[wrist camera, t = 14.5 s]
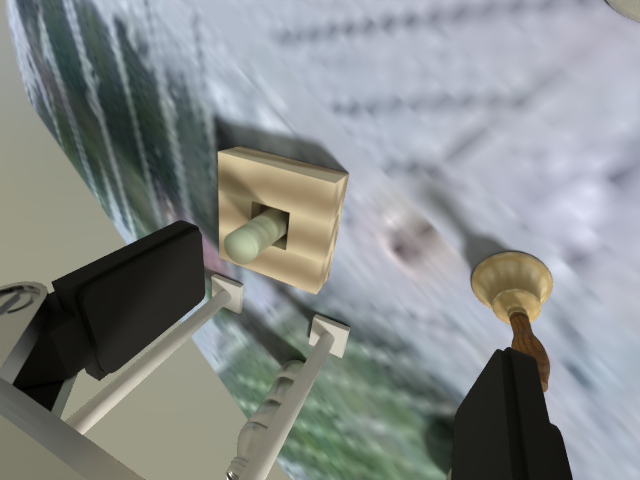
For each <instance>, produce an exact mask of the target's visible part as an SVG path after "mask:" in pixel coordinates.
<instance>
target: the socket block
mask: <svg viewBox="0 0 640 480" xmlns="http://www.w3.org/2000/svg"><path fill="white" fill-rule="evenodd" d="M348 176H349V173H345V172H341V171H337V170H333V169H330V168H326V167H322V166H318V165H314V164H310V163H306V162H302V161H298V160H295V159H291V158H287V157H283V156H279V155H275V154H271V153H267V152H263V151H260V150H256V149H252V148H248V147H244V146H238V147H234V148H230V149H227V150H223V151H219V152H218V186H219V250H220V258H221V259H224V260H227V261H229V262H232V263H235V264H237V265H240V266H242V267H245V268H248V269H250V270H253V271H256V272H258V273H261V274H264V275H266V276H269V277H271V278H274V279H277V280H279V281H282V282H285V283H287V284H290V285H293V286H295V287H298V288H300V289H303V290H306V291H308V292H311V293H314V294H317V293H318V291H319V290H320V289H321V287H322V286H323V284H324V283H325V281H326V280H327V279H328V277H329V274H330V269H331V264H332V259H333V254H334V248H335V243H336V238H337V233H338V228H339V222H340V217H341V212H342V207H343V202H344V196H345V191H346V186H347V181H348ZM271 207H274V208H277V209H280V210H283V211H286V212H290V218H289V228H288V232H286V233H285V234H284V235H283V236H282V237H280V238H279V239H278V240H277V241H275V242H274V243H273V244H272V245H271V246H269V247H268V248H267V249H266V250H265V251H263V252H262V253H261V254H260V255H258V256H257V257H256V258H255V259H254V260H252V261H251V262H250V263H248V264H245V265H242V264H238V263H236V262H234V261H233V260H232V259H230V257H229V256H228V255H227V253H226V251H225V249H224V239H225V237H226V236H227V235H228V234H229V233H231V232H232V231H234V230H236V229H237V228H239V227H240V226H242V225H244V224H245V223H247V222H249V221H250V220H252V219H253V218H255V217H257V216H258V215H260V214H261V213H263V212H265V211H266V210H268V209H269V208H271Z"/></svg>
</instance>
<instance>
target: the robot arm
mask: <svg viewBox="0 0 640 480" xmlns="http://www.w3.org/2000/svg"><path fill="white" fill-rule="evenodd" d="M606 1H607V2H608V3H609V5H610V6H611V7H612V8H613V9H615V10H616V11H617V12H619V13H620V14H621V15H623V16H624V17H627V18H629V19H632V20H634V21H637V22H640V0H606ZM52 285H53V288H54V290H55V291H54V292H52V293H50V294H49V293H48V290H47V287H46V286H44V285H43V284H41V283H37V282H18V283H13V284H9V285H5V286H1V287H0V480H145V479H143V478H142V477H141V476H139V475H138V474H136V473H135V472H134V471H132V470H131V469H129V468H128V467H127V466H125V465H124V464H122V463H121V462H120V461H118V460H117V459H116V458H114V457H113V456H111V455H110V454H109V453H107V452H106V451H105V450H103V449H102V448H100V447H99V446H98V445H96V444H95V443H93V442H92V441H91V440H89V439H88V438H86V437H85V436H84V435H82V434H81V433H79V432H78V431H77V430H75V429H74V428H72V427H71V426H70V425H68V424H67V423H65V422H64V421H62V420H61V419H60V417H61V414H62V412H63V410H64V407H65V404H66V402H67V399H68V397H69V394H70V392H71V389H72V387H73V384H74V382H75V379H76V377H77V374H78V372H80V371H81V370H82V369H84V368H85V370H86V373H88V374H89V375H91V376H92V377H94V378H95V379H98V380H99V381H100V380H101V379H102V378H104V377H105V376H106V375H107V374H109V373H113V372H115V371H117V370H118V369H120V368H121V367H122V366H123V365H124V364H126V363H127V362H128V361H129V360H131V359H132V358H133V357H134V356H135V355H137V354H138V353H139V352H140V351H141V350H143V349H144V348H145V347H146V346H147V345H149V344H150V343H151V342H152V341H154V340H155V339H156V338H157V337H158V336H160V335H161V334H162V333H163V332H165V331H166V330H167V329H168V328H169V327H171V326H172V325H173V324H174V323H176V322H177V321H178V320H179V319H181V318H182V317H183V316H184V315H185V314H187V313H188V312H189V311H190V310H192V309H193V308H194V307H195V306H196V305H198V304H199V303H200V302H201V301H202V300H203V298H204V296H205V277H204V261H203V246H202V234H201V232H200V231H199V228H198V227H197V226H196V225H193V224H191V223H188V222H186V221H183V220H179V221H177V222H174V223H172V224H170V225H168V226H166V227H164V228H162V229H160V230H158V231H156V232H154V233H152V234H150V235H148V236H146V237H143V238H141V239H139V240H137V241H135V242H133V243H131V244H129V245H127V246H125V247H123V248H121V249H119V250H117V251H115V252H113V253H111V254H109V255H106V256H104V257H102V258H100V259H98V260H96V261H94V262H92V263H90V264H88V265H86V266H84V267H81V268H80V269H77V270H75V271H73V272H71V273H69V274H67V275H65V276H63V277H61V278H59V279H57V280H55V281H52ZM451 480H573V478H572V474H571V470H570V465H569V461H568V457H567V453H566V449H565V445H564V441H563V437H562V435H561V432H560V430H559V429H558V427H557V426H555V425H553V424H551V423H550V421H549V416H548V412H547V407H546V403H545V398H544V393H543V389H542V384H541V379H540V375H539V370H538V366H537V361H536V359H535V357H534V356H531V355H529V354H526V353H524V352H521V351H518V350H516V349H513V348H511V347H507V348H506V349H505V350H504V351H502V350H500V349H497V350H496V351H495V352H494V354H493V355H492V357H491V358H490V360H489V361H488V363H487V364H486V366H485V368H484V369H483V371H482V372H481V374H480V375H479V377H478V378H477V380H476V382H475V383H474V385H473V386H472V388H471V389H470V391H469V392H468V394H467V396H466V397H465V399H464V400H463V402H462V403H461V405H460V406H459V408H458V410H457V413H456V416H455V421H454V436H453V453H452V469H451Z"/></svg>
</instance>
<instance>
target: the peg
mask: <svg viewBox="0 0 640 480" xmlns="http://www.w3.org/2000/svg"><path fill="white" fill-rule="evenodd" d="M289 218H290V212H286V211H283V210H280V209H277V208H274V207H271V208H269V209H268V210H266V211H265V212H263V213H261V214H260V215H258V216H257V217H255V218H253V219H252V220H250V221H249V222H247V223H245V224H244V225H242V226H240V227H239V228H237V229H236V230H234V231H232V232H231V233H229V234H228V235H227V236H226V237H225V239H224V249H225V251H226V253H227V255H228V256H229V257H230V259H232V260H233V261H234V262H236V263H238V264H242V265H245V264H248V263H250V262H251V261H252V260H254V259H255V258H256V257H257V256H258V255H260V254H261V253H262V252H263V251H265V250H266V249H267V248H268V247H269V246H271V245H272V244H273V243H274V242H275V241H277V240H278V239H279V238H280V237H282V236H283V235H284V234H285V233H286V232H288V228H289Z"/></svg>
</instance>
